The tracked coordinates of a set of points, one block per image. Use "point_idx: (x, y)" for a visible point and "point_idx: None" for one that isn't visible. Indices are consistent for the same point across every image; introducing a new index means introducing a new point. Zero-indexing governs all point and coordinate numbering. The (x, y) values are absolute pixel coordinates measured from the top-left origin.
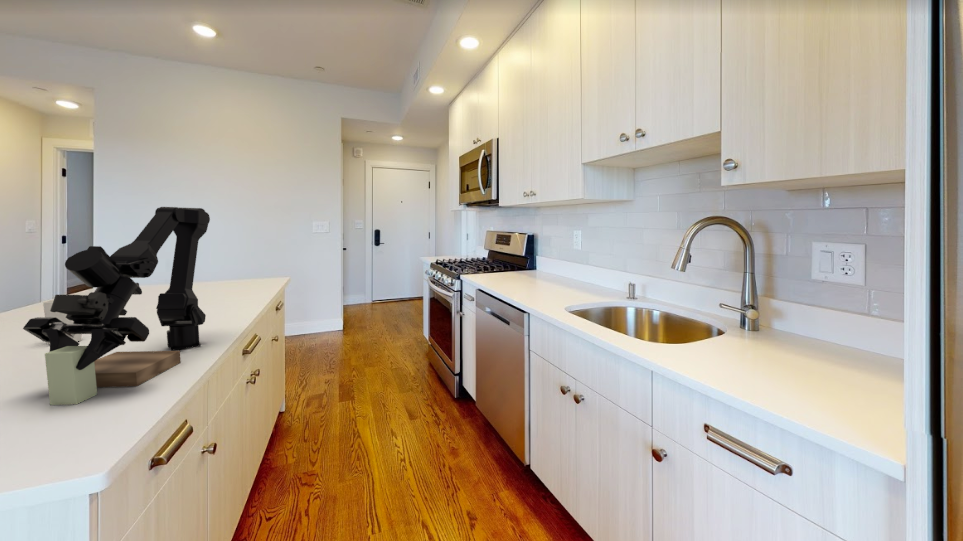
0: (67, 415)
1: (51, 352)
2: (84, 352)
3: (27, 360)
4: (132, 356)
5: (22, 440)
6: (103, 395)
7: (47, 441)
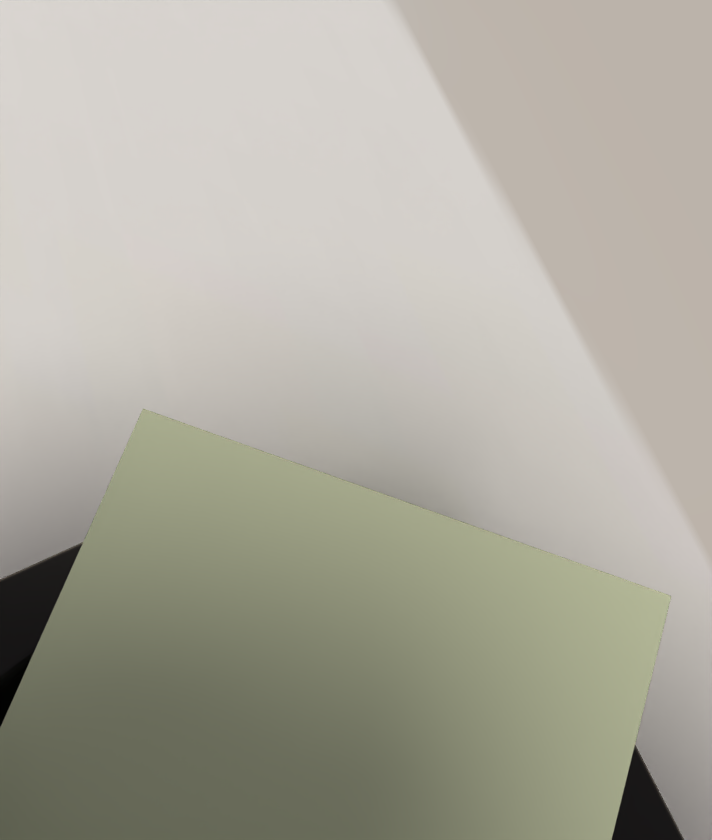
0: (278, 326)
1: (568, 631)
2: (31, 642)
3: None
4: None
5: (368, 61)
6: None
7: (242, 7)
